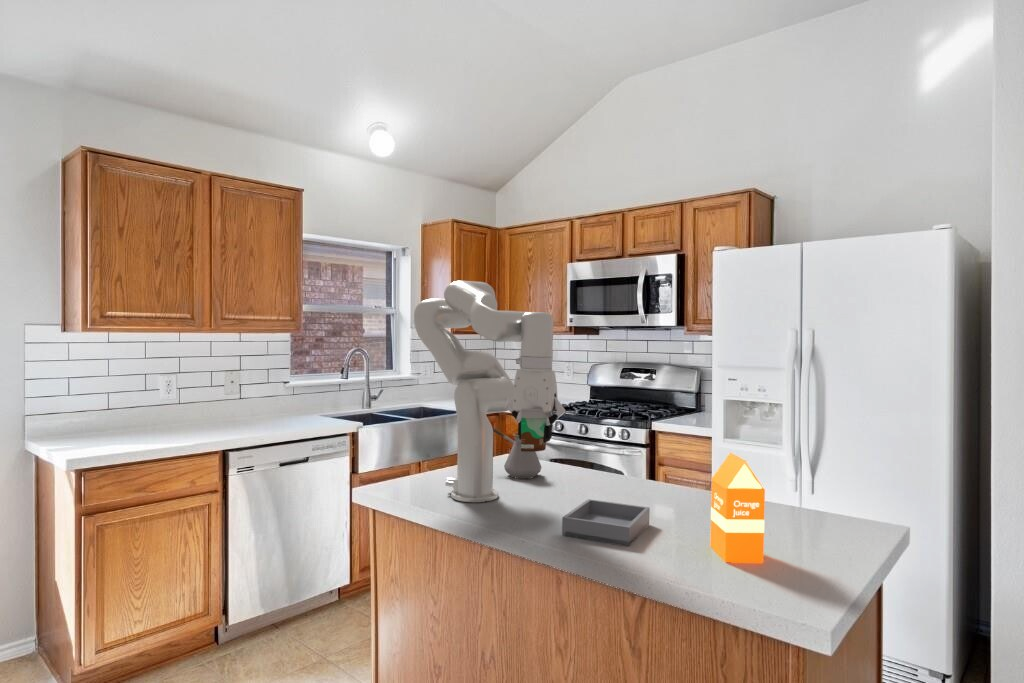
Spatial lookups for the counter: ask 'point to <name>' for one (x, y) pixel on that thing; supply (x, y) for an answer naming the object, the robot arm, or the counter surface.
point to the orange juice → (737, 513)
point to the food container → (533, 429)
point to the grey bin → (606, 522)
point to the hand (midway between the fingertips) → (534, 439)
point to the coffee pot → (520, 459)
